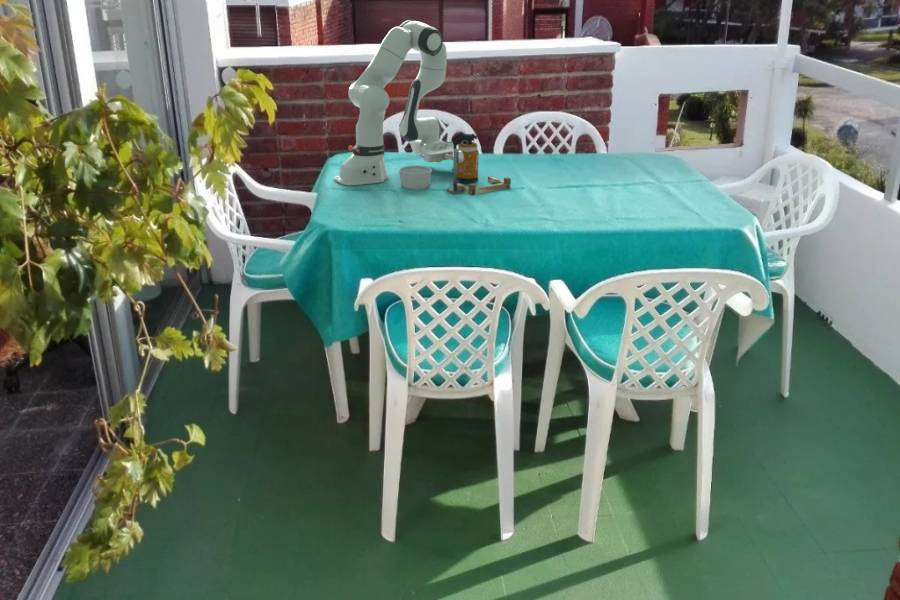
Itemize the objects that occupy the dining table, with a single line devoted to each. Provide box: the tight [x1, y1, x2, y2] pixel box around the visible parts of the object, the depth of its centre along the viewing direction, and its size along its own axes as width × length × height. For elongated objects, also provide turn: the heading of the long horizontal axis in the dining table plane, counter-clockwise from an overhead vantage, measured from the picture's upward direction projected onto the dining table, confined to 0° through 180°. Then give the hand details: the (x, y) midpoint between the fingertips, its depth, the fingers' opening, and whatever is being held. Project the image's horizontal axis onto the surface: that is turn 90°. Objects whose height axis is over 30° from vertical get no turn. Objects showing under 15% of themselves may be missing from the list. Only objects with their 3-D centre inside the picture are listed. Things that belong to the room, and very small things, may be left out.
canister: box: [451, 132, 480, 184], centre depth 345 cm, size 9×11×20 cm
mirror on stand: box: [445, 149, 465, 195], centre depth 331 cm, size 6×5×17 cm
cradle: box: [457, 175, 512, 196], centre depth 339 cm, size 13×20×4 cm, turn 125°
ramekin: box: [398, 165, 433, 191], centre depth 341 cm, size 13×13×7 cm
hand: (455, 157), depth 351 cm, fingers closed
